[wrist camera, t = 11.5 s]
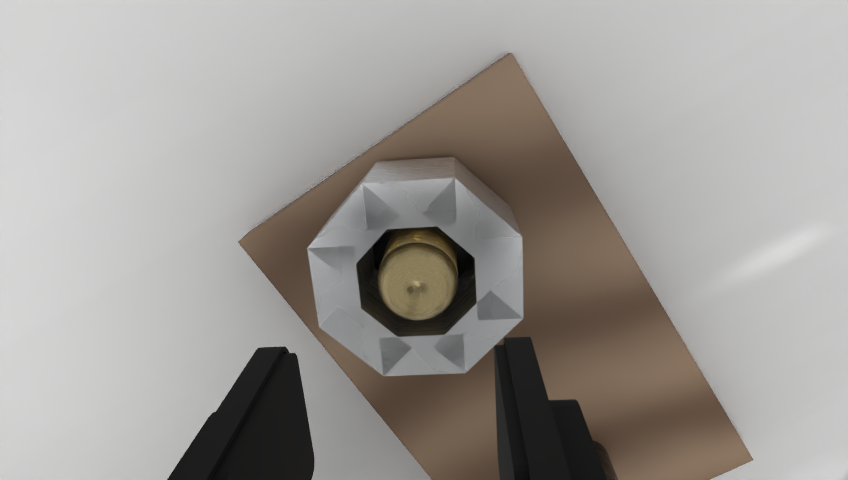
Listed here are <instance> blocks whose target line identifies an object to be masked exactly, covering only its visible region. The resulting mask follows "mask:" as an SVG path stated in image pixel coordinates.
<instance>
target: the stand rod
mask: <svg viewBox="0 0 848 480" xmlns="http://www.w3.org/2000/svg"><path fill="white" fill-rule="evenodd" d="M593 443H594V446H595V448H596V451H597V454H598V456H599V459H600V462H601V464H602V467H603V470H604V473H605V475H606V478H607V480H618V478H617V475H616V473H615V470H614V468H613V465H612V463H611V460H610V457H609V455H608V452H607V450H606V449H605V448H604V447H603V446H602V445H601V444H600V443H598V442H596V441H593Z"/></svg>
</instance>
